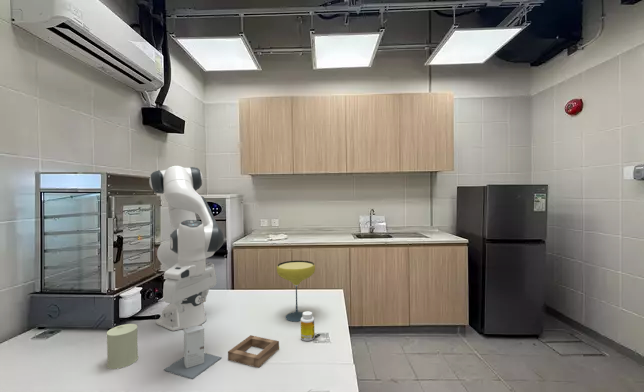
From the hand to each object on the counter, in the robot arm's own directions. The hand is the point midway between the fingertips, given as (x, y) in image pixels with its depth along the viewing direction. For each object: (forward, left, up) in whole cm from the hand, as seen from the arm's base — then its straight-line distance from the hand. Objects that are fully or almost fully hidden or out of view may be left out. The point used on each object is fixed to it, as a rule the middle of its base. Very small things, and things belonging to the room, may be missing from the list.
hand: (192, 306), depth 103 cm
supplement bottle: (+29, +31, -20) cm, 47 cm away
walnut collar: (+16, +13, -20) cm, 29 cm away
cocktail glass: (+15, +48, -20) cm, 54 cm away
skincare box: (+1, 0, -20) cm, 20 cm away
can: (-25, -8, -20) cm, 33 cm away
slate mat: (0, 0, -20) cm, 20 cm away
